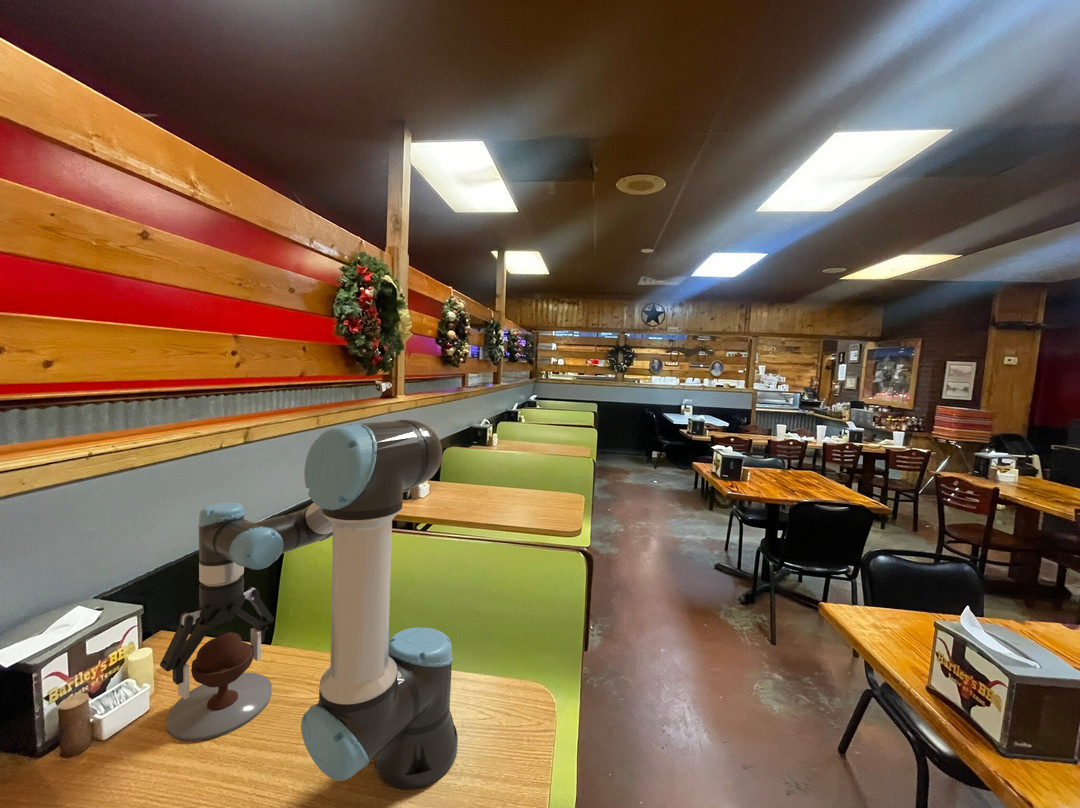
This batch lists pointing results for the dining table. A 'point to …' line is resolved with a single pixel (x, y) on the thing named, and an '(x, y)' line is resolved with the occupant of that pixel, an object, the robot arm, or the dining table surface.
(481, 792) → the dining table surface
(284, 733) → the dining table surface
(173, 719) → the grey smooth oval disc
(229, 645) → the ice cream bowl
